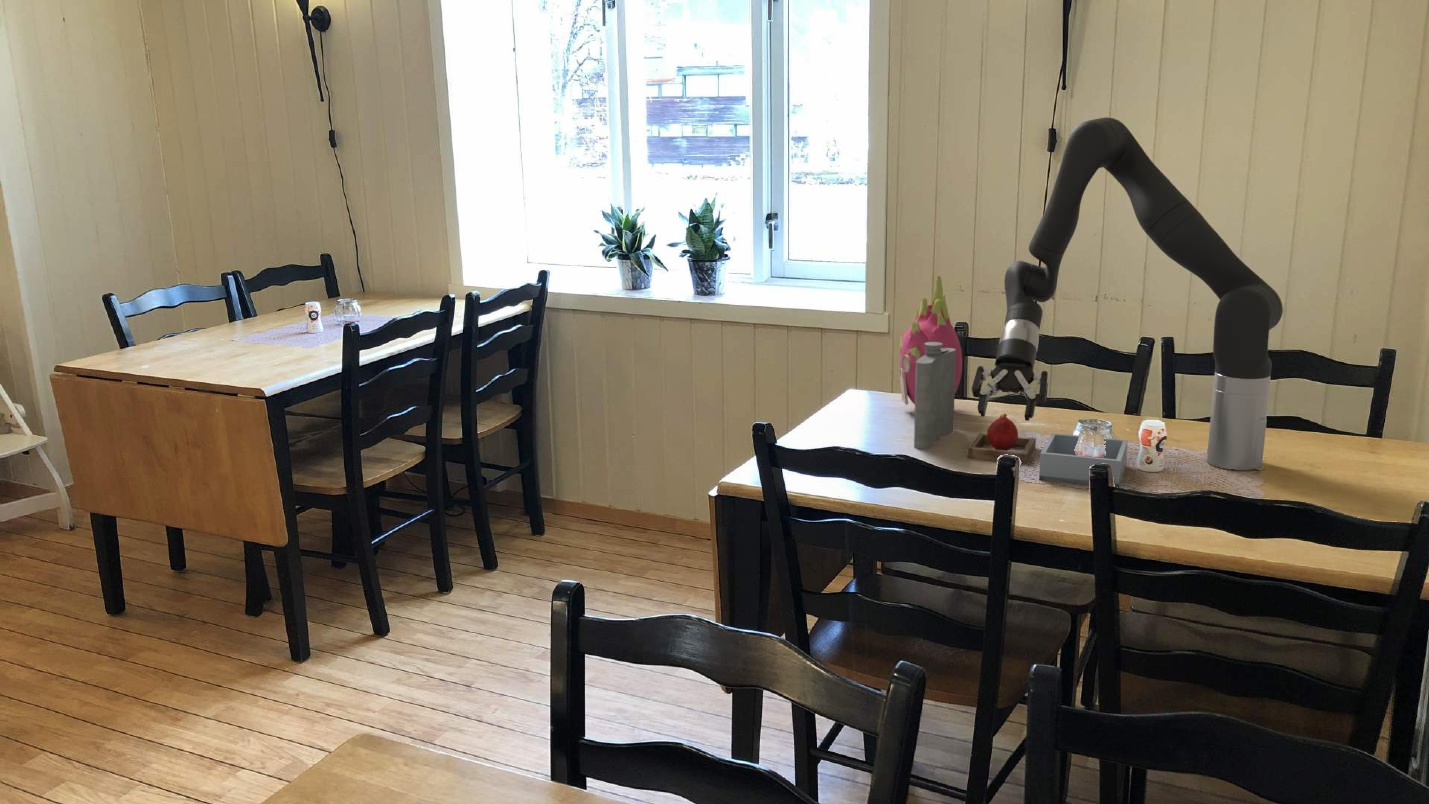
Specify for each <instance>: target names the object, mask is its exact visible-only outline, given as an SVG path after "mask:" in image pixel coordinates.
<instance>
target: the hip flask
mask: <svg viewBox="0 0 1429 804" xmlns="http://www.w3.org/2000/svg"><path fill="white" fill-rule="evenodd" d="M924 348H926V349H925V353H926V355H924V356H922V357H921V358H919V359H918V360H917V361H916V378H915V404H914V425H913V426H914V431H913V434H914V435H913V448H914V449H916V450H922V449H924V450H929V449H931V447H932V445H934V444H935V443H936V442H937V441H939V440H940V439H942V438H944V437H945V435H946V436H947V434H948V435H950V434H953V433H954V430H955V429H954V426H955V425H954V423H955V422H954V421H955V394H956V393H955V365H956V349H953V348H943V344H942V343H939V342H927V343H924ZM941 348H942V349H941ZM952 432H953V433H952ZM941 437H942V438H941Z"/></svg>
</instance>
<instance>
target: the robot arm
mask: <svg viewBox="0 0 1429 804" xmlns="http://www.w3.org/2000/svg"><path fill="white" fill-rule="evenodd" d="M1060 162H1061V163H1060V167H1059V170H1058V173H1057V176H1056V180H1055V182H1054V185H1053V189H1052V192H1051V195H1050V198H1049V201H1048V202H1047V205H1046V208H1045V210H1044V212H1043V215H1042V216H1041V219H1040V221H1039V223H1038V225H1037V227H1036V229H1035V232H1034V234H1033V236H1032V238H1031V240H1030V243H1029V245H1028V251H1029V253H1030V254H1031V256H1033V258H1035V259H1037V260H1038V261H1040V262H1041V263H1043V264H1044V265H1045V267H1043V266H1039V265H1036V264H1033V263H1030V262H1026V261H1023V260H1017V261H1014V262H1013V263H1012V264H1010V265H1009V266H1008V267H1007V269H1006V272H1005V273H1004V274H1005V275H1004V282H1003V283H1004V294H1005V299H1006V314H1005V319H1004V324H1003V328H1002V331H1001V333H1000V338H999V342H998V347H997V353H996V357H995V362H994V366H993V368H991V369H986V368H984V366H982V365H979V366H977V369H976V372H975V376H974V379H973V382H972V386H971V392H972V395H973V397H974V398H978V402H977V403H978V404H977V411H978V414H980V417H986V411H987V407H988V404H989V399H990V398H992V396H995V395H996V394H998V393H999V392H1000V391H1001V392H1002V393H1010V392H1011V393H1013V394H1018V393H1020V392H1021V393H1022V394H1023V396H1024V397H1025V398H1026V406H1025V410H1024V420H1025V421H1028V422H1029V421H1030V419H1033V417H1034V414H1035V409H1036V405H1037V404H1040V403H1041V404H1046V402H1047V399H1048V389H1049V381H1050V380H1049V374H1048V371H1046V370H1043V371H1041V373H1040V372H1039V373H1038V372H1034V369H1035V368H1034V367H1035V365H1036V358H1037V352H1038V350H1039V341H1040V330H1041V329H1040V328H1041V323H1042V319H1043V309H1042V307H1041V305H1040V304H1039V303H1045V302H1047V301H1049V300H1050V299H1052V298H1053V296H1054V295H1055V293H1056V290H1057V285H1058V279H1059V273H1060V272H1059V271H1060V266H1061V263H1062V260H1063V257H1064V254H1065V252H1066V251H1067V248H1068V247H1069V244H1070V242H1071V240H1072V239H1073V236H1074V234H1075V231H1076V228H1077V226H1078V221H1079V218H1080V210H1081V203H1082V201H1083V199H1082V198H1083V196H1084V194H1085V191H1086V189H1087V187H1088V185H1089V183H1090V182H1091V180H1092V178H1093V177H1094V176H1095V174H1096V173H1097V172H1098V170H1100V168H1101V169H1102V168H1104V169H1105V170H1106V171H1107V172H1108V173H1109V174H1110V175H1111V176H1112V177H1113V178H1114V180H1116V181H1117V183H1119V184H1120V185H1121V186H1122V188H1123V189H1124V191H1125V192H1126V194H1127V196H1128V197H1129V200H1130V203H1131V206H1132V209H1133V212H1134V215H1135V217H1136V220H1137V222H1138V223H1139V225H1140V227H1141V229H1142V230H1143V231H1144V233H1145V234H1146V235H1147V236H1148V237H1149V239H1150V240H1151V241H1152V242H1153V243H1154V244H1155V246H1157V248H1158V249H1160V251H1161V252H1163V253H1164V254H1165V255H1166V256H1167V257H1168V258H1169V259H1170V260H1172V261H1174V262H1175V263H1176V264H1177V265H1179V266H1181V267H1183V268H1184V269H1185V270H1187V271H1189V272H1191V273H1192V274H1193V275H1194V276H1197V278H1199V279H1201V281H1203V282H1204V283H1205V285H1207V286H1208V287H1209V289H1210V290H1211V291H1212V292H1213V293H1214V294H1215V296H1216V297H1217V298H1218V299H1219V301H1218V304H1217V307H1216V309H1215V310H1216V311H1215V317H1214V327H1213V345H1212V348H1213V349H1212V352H1213V353H1212V354H1213V359H1214V362H1215V364H1214V365H1215V366H1214V367H1215V368H1214V377H1213V378H1214V380H1213V389H1212V390H1213V391H1212V400H1211V412H1210V419H1209V421H1210V422H1209V432H1208V441H1207V442H1208V443H1207V452H1206V453H1207V455H1206V462H1207V463H1208V464H1210V465H1212V466H1214V467H1217V468H1221V469H1225V470H1231V469H1235V470H1234V471H1248V470H1247V469H1262V468H1263V460H1264V449H1265V439H1266V432H1267V422H1268V421H1267V418H1268V417H1267V414H1268V406H1269V405H1268V404H1269V395H1270V394H1269V393H1270V386H1271V385H1270V384H1271V375H1272V367H1273V363H1272V360H1271V358H1270V357H1269V353H1268V352H1269V349H1268V348H1269V338H1270V336H1269V335H1270V334H1269V333H1270V330H1272V329H1274V328H1275V327H1276V326H1277V325H1278V324H1279V323H1280V321H1281V319H1282V316H1283V313H1284V309H1283V308H1284V307H1283V303H1282V300H1281V297H1280V296H1279V294H1278V292H1277V291H1276V290H1275V289H1274V288H1272V286H1271V285H1269V284H1268V283H1267V282H1266V281H1265V280H1263V278H1262V277H1260V276H1259V275H1258V274H1257V273H1256V272H1254V270H1252V269H1251V268H1250V267H1249V266H1248V265H1247V264H1246V263H1244V262H1243V260H1241V259H1240V257H1238V255H1237V254H1235V253H1234V251H1233V250H1232V248H1230V246H1229V245H1228V244H1227V243H1226V242H1225V240H1224V239H1223V238H1222V237H1221V236H1220V234H1219V233H1218V232H1217V231H1216V230H1215V229H1214V228H1213V227H1212V226H1211V225H1210V223H1209V222H1208V220H1206V219H1205V217H1204V216H1203V215H1202V213H1201V212H1200V211H1199V210H1198V209H1197V208H1196V207H1195V206H1194V205H1193V203H1191V202H1190V200H1189V199H1188V198H1187V197H1185V195H1184V194H1183V193H1182V192H1181V191H1180V190H1179V189H1178V188H1177V187H1176V186H1175V185H1174V184H1173V182H1172V181H1171V180H1170V179H1169V178H1168V177H1167V176H1166V175H1165V174H1164V173H1163V172H1162V171H1161V170H1160V168H1159V167H1157V165H1155V163H1154V162H1153V161H1152V160H1151V158H1150V157H1149V156H1148V155H1147V152H1146V151H1144V149H1143V147H1142V146H1141V144H1140V143H1139V142H1138V140H1137V139H1136V138H1135V136H1134V135H1133V134H1132V132H1131V131H1130V130H1129V128H1128V127H1127V126H1126V125H1125V124H1124V123H1123V122H1122V121H1121V120H1118V119H1116V118H1113V117H1109V116H1108V117H1107V116H1106V117H1099V118H1095V119H1090V120H1086V121H1083V122H1081V123H1079V124H1077V125H1076V126H1075V127H1074V128H1073V129H1072V131H1071V132H1070V134H1069V137H1068V139H1067V142H1066V145H1065V149H1064V151H1063V155H1062V159H1061V161H1060ZM988 377H991V380H990V381H988V383H987V385H986V386H984V387H983V388H982V386H983V384H984V381H986V380H987V379H988ZM1034 380H1035V381H1036V382H1037V383H1036V384H1038V385H1039V392H1038V393H1037V394H1036V393H1034V391H1033V389H1032V388H1031V385H1030V384H1032V383H1033V381H1034ZM1035 381H1034V382H1035Z"/></svg>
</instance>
